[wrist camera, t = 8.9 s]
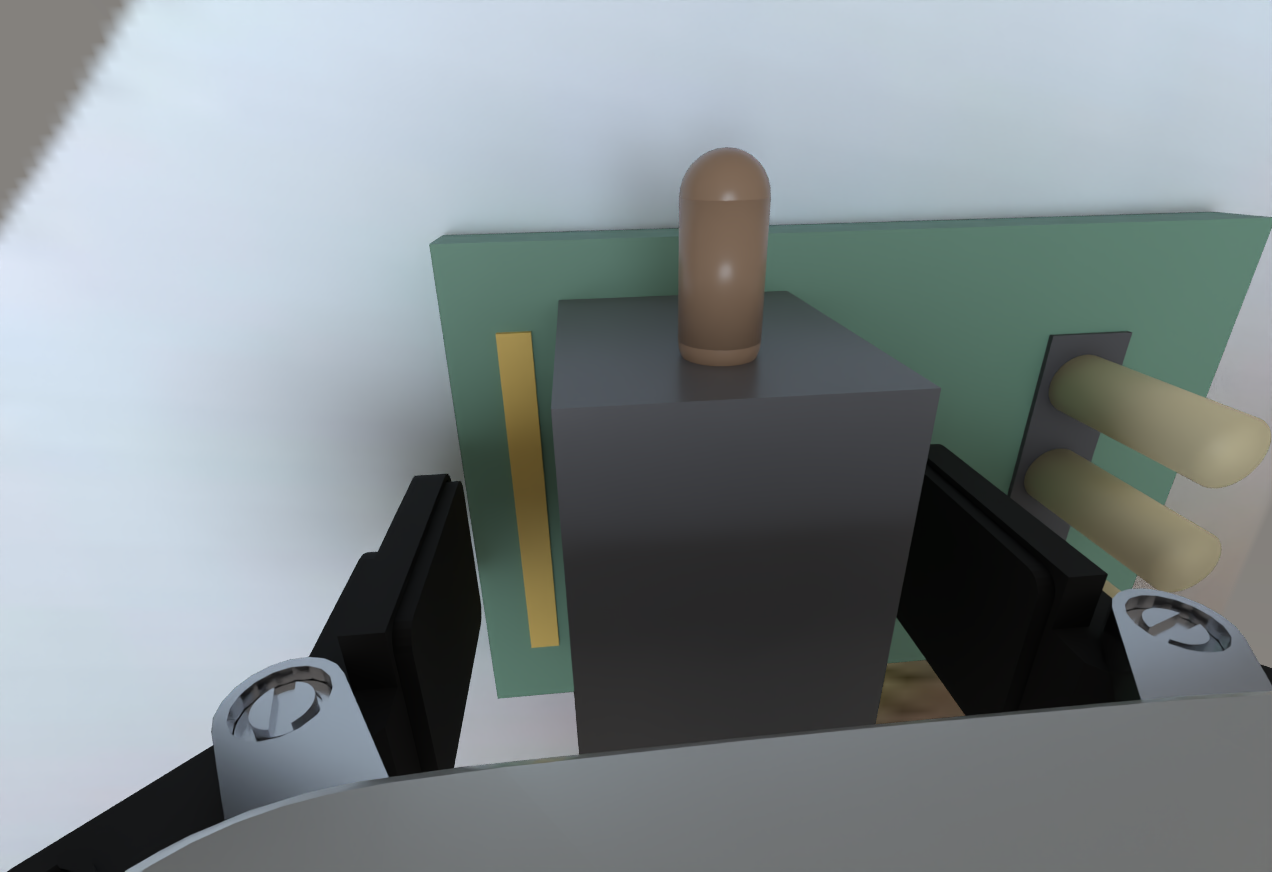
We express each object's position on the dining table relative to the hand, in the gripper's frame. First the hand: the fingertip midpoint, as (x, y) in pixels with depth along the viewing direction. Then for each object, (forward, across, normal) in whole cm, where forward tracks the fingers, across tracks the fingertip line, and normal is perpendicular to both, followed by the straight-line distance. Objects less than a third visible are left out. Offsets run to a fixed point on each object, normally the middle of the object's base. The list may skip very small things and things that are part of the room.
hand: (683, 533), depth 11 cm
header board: (+3, -4, 0) cm, 4 cm away
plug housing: (+1, 0, -1) cm, 2 cm away
